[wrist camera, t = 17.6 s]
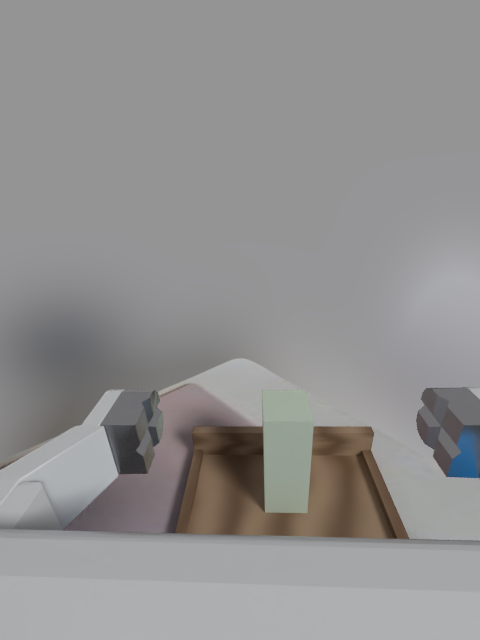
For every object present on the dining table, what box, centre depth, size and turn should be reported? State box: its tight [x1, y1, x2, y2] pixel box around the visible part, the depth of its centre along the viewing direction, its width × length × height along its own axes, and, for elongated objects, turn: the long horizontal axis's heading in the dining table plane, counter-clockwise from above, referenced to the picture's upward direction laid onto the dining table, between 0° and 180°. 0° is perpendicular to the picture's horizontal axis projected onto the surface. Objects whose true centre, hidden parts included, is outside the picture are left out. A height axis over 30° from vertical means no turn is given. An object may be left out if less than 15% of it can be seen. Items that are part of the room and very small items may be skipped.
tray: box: [175, 427, 409, 539], centre depth 37 cm, size 25×14×5 cm, turn 87°
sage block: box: [262, 390, 314, 513], centre depth 35 cm, size 5×5×14 cm
